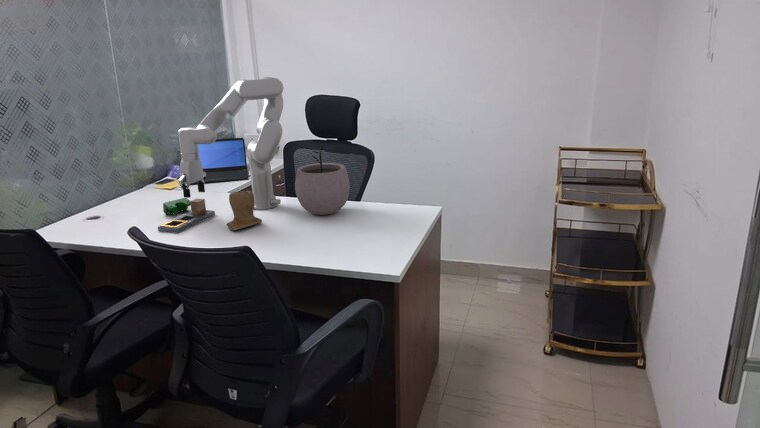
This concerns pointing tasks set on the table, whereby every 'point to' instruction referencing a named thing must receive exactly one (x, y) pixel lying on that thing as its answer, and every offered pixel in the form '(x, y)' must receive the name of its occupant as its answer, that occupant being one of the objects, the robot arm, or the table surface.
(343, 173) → the plant pot
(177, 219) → the grey slotted board
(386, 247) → the table surface
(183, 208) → the green toy truck
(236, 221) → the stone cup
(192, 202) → the peg
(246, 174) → the laptop
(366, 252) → the table surface
